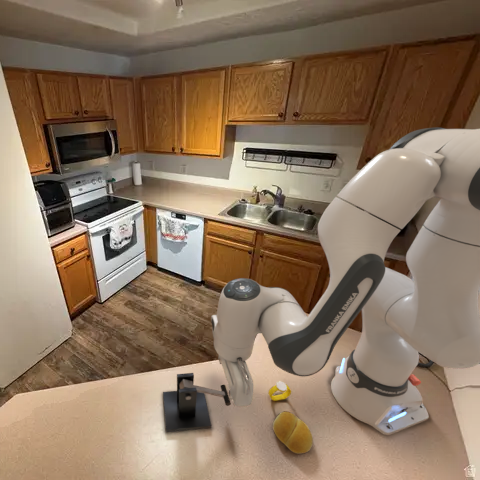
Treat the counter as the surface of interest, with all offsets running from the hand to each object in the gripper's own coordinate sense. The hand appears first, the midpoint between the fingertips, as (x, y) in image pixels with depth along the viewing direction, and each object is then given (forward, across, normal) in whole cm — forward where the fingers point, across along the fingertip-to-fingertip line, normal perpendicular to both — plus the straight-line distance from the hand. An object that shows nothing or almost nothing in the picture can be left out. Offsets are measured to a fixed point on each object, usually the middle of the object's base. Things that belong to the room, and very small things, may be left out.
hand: (227, 378), depth 67 cm
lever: (+6, 0, +6) cm, 8 cm away
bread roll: (+13, -8, -16) cm, 22 cm away
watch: (+13, +1, -17) cm, 21 cm away
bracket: (+13, 0, +10) cm, 17 cm away
